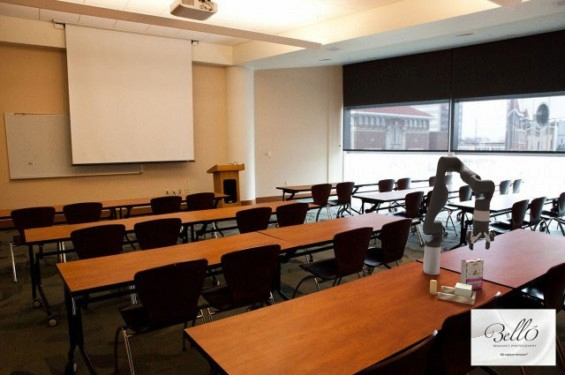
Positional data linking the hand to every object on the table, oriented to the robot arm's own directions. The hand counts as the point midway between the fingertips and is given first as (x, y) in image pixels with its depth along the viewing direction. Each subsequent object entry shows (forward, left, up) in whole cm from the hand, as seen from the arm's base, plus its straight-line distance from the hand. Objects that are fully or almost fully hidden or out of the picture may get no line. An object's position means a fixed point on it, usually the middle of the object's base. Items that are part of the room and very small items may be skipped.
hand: (479, 249), depth 209 cm
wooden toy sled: (-5, -8, -27) cm, 29 cm away
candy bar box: (-14, +9, -27) cm, 32 cm away
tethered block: (-7, -10, -27) cm, 30 cm away
